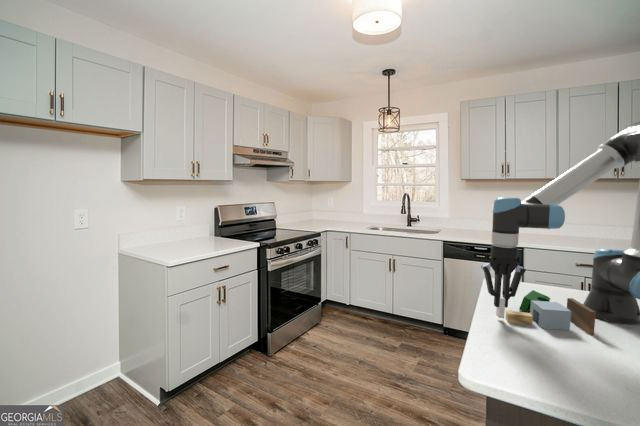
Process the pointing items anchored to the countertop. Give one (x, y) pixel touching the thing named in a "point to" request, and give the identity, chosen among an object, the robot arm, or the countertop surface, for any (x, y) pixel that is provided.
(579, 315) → the wall
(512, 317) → the tan rectangular bar
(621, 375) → the countertop surface
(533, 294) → the clamp
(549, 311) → the block
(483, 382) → the countertop surface
